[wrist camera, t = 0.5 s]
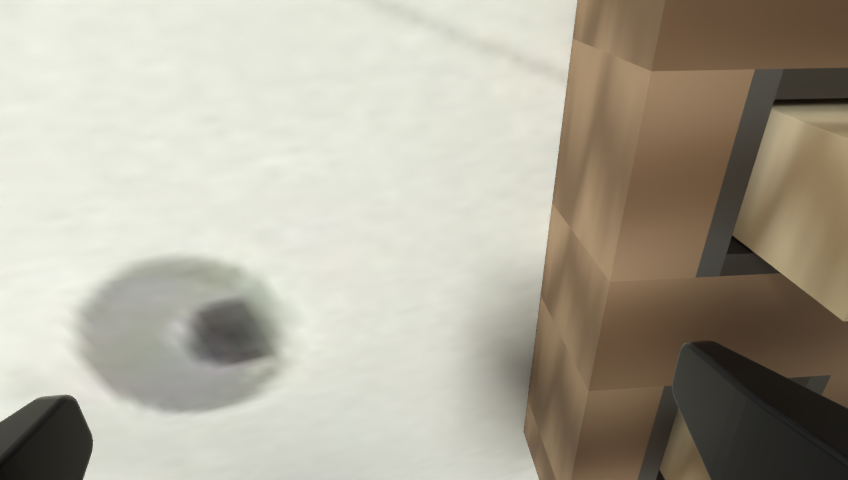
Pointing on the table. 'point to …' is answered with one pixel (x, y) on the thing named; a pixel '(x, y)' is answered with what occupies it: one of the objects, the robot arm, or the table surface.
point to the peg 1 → (682, 455)
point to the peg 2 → (802, 198)
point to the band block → (670, 222)
